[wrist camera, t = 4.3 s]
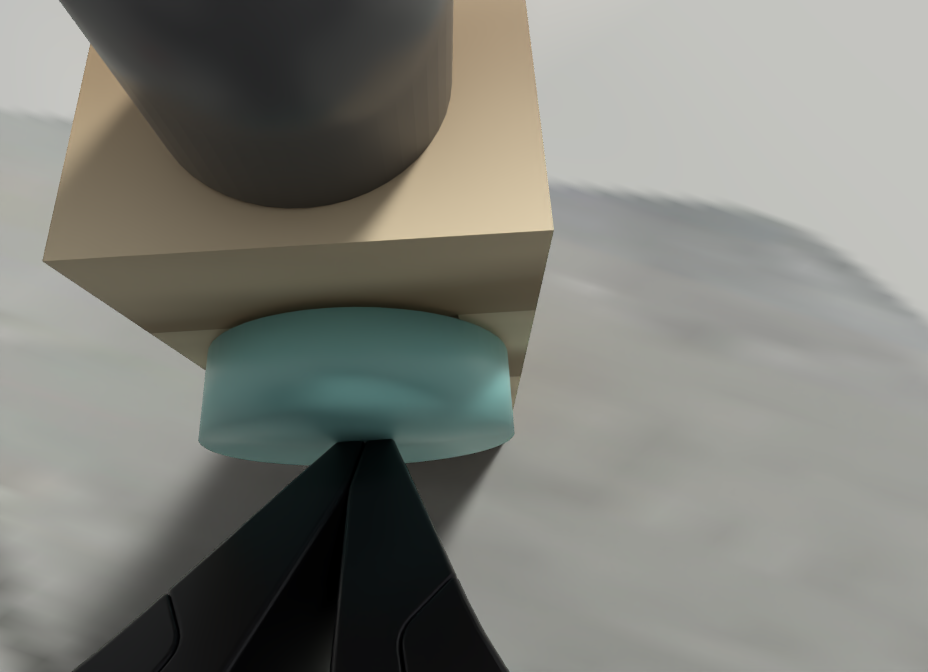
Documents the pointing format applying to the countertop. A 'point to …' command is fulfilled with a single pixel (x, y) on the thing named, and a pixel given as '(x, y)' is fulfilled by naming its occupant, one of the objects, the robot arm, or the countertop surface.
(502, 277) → the mount
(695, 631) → the countertop surface
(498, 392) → the knob
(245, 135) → the dial
